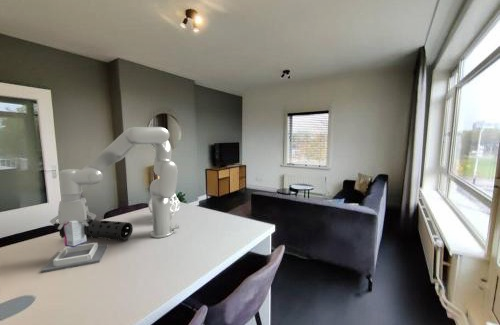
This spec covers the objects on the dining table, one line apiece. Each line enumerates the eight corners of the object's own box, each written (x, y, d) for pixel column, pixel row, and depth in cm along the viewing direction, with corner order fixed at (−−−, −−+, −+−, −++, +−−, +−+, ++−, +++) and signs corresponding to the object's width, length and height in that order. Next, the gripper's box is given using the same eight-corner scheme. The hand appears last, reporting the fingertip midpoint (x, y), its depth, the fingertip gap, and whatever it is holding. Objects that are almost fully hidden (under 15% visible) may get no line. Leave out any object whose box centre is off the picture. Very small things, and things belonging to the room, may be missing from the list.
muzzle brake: (120, 245, 112) (119, 226, 111) (75, 240, 118) (73, 222, 116) (133, 237, 121) (132, 219, 120) (91, 233, 127) (90, 216, 126)
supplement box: (87, 241, 101) (85, 217, 100) (73, 247, 95) (71, 222, 94) (78, 240, 103) (76, 216, 101) (64, 245, 97) (62, 220, 96)
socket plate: (107, 246, 111) (106, 239, 110) (99, 262, 96) (98, 254, 96) (57, 254, 103) (57, 247, 103) (40, 273, 89) (39, 265, 88)
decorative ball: (178, 212, 163) (177, 186, 161) (182, 221, 144) (180, 192, 142) (149, 216, 154) (147, 189, 153) (148, 226, 136) (147, 196, 134)
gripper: (97, 193, 104) (100, 229, 105) (51, 197, 97) (54, 235, 99) (93, 197, 97) (96, 235, 98) (42, 201, 90) (46, 242, 92)
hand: (75, 235), depth 98 cm, fingers closed on supplement box, 7 cm apart
